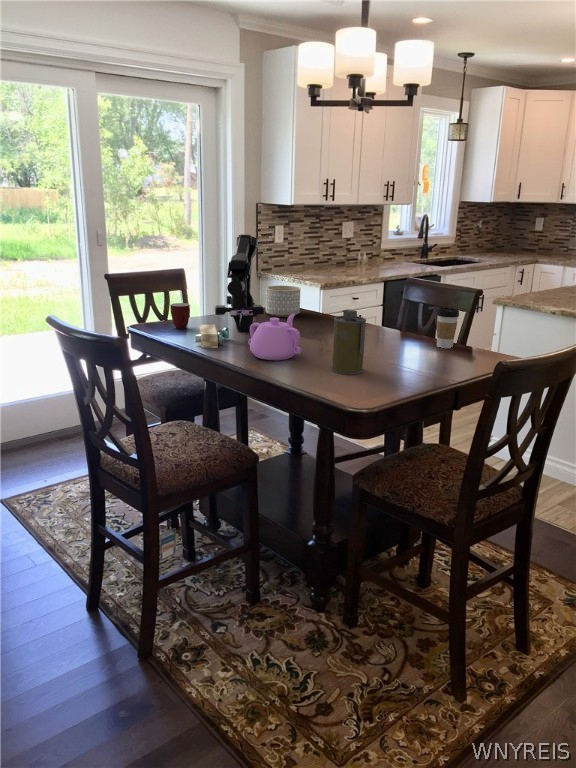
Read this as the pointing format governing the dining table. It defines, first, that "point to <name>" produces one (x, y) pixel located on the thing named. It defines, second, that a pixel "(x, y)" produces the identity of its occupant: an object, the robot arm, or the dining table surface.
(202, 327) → the mount
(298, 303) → the planter
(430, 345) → the dining table surface
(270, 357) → the teapot
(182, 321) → the mug
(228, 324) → the dining table surface
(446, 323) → the coffee cup
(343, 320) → the canister
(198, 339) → the knob
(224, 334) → the knob
